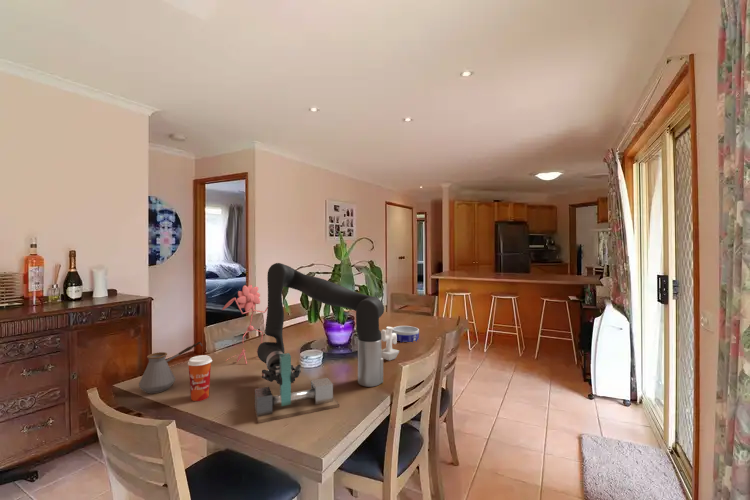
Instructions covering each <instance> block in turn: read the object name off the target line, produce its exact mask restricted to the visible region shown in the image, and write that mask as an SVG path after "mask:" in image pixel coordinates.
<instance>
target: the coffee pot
mask: <svg viewBox="0 0 750 500" xmlns="http://www.w3.org/2000/svg"><path fill="white" fill-rule="evenodd" d="M197 345H200V346H201V347H203V343H201V341H198V342H196V343H193V344H192V345H190V346H188V347H186V348H184V349H183V350H181V351H179V352H178V353H176V354H174V355H173V356H171V357H169V358H167V359H166V357H167V356H168V353H167V352H163V351H161V352H159V351H158V352H153V353H150V354H148V355H147V356H146V358H147V359H148V363H147V365H146V368H145V369H144V372H143V374H142V376H141V378H140V381H139V383H138V387H139V388H140V390H142V391H143V392H145V393H147V394H157V393H158V394H159V393H162V392H164V391H167V390H169V389H170V387H172V385H173V384H174V383H175V380H176V377H175V375H174V373H173V371H172V369H171V367H170V366H169V363H168V362H170V361H172V360H174V359H175V358H177V357H178V356H181V355H182V354H185V353H186V352H189V351H191V350H192V349H193V348H196V347H197Z"/></svg>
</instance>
